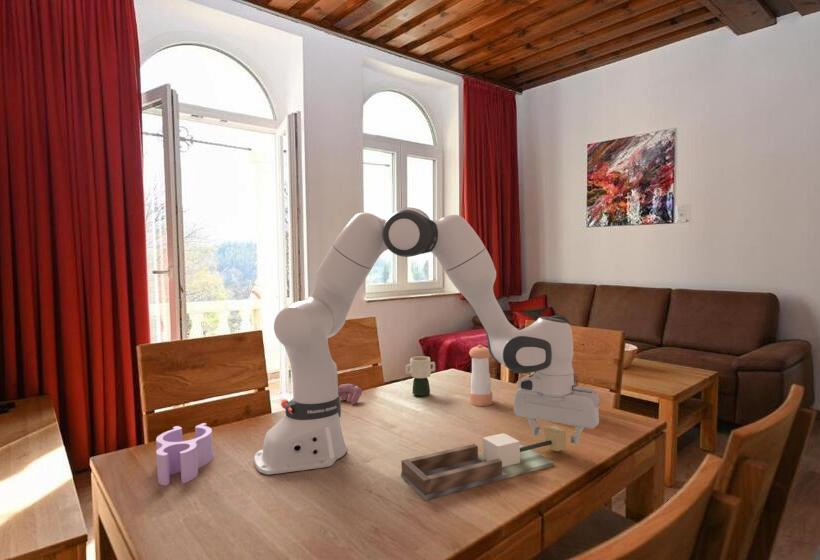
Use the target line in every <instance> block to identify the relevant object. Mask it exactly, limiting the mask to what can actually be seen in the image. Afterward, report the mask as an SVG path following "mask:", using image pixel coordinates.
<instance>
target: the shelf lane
mask: <svg viewBox="0 0 820 560" xmlns="http://www.w3.org/2000/svg"><path fill="white" fill-rule="evenodd" d="M524 446H525V445H523V444H521V443H520V447H524ZM478 447H479V446H478V445H477V444H475V443H473V444H468V445H465V446H464V445H463V446H460V447H455V448H451V449H447V450H442V451H436V452H432V453H428V454H424V455H421V456H419V455H418V456H416V457H411V458H407V459H402V460H401V461H400V462H401V472H400V478H402V479H403V480H404V481H405V482H406V483H407V484H408V485H409V486H410V488H412V489H414V491H415V492H416V493H418V495H420V497H421V498H422V499H424V500H425V501H428V500H431V499H435V498H439V497H443V496H446V495H449V494H454V493H457V492H462V491H464V490H467V489H472V488H475V487H479V486H483V485H487V484H490V483H494V482H497V481H501V480H505V479H509V478H512V477H515V476H520V475H524V474H527V473H531V472H534V471H539V470H542V469H546V468H549V467H553V466H555V462H554V461H553V460H551V459H549V458H547V457H545V456H543V455H542V454H540V453H538V452H536V451H534V450H533V449H531V450H527V451H523V452H520V463H518V464H514V465H510V466H506V467H502V461H501V460H499V459H494V460H490V461H486V460H484V459H483V452H482V453H479V448H478Z"/></svg>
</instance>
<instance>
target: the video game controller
mask: <svg viewBox="0 0 820 560" xmlns="http://www.w3.org/2000/svg"><path fill="white" fill-rule="evenodd" d="M362 391H363V390H362V388H360V387H359V386H357V385H355V384H353V383H352V384H351V383H345V384H344V383H343V384H339V385H338V395H339V396H340V400H342V401H344V400H346V401H347V400H348V401H349V402H350V404H351V405H352V406H355V405H356V404H357V403H358V401H359V399H360V397H361V395H362V393H363V392H362Z"/></svg>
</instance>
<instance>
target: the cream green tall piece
mask: <svg viewBox="0 0 820 560" xmlns="http://www.w3.org/2000/svg"><path fill="white" fill-rule="evenodd" d="M409 369H410V370H409ZM435 371H436V362H435V361H431V357H430V356H425V355H424V356H421V355H420V356H419V355H418V356H413V357H411V358H410V359H409V364H406V365H405V374H406V375H410V376H411V378H413V380H412V382H413V383H412V392H411V393H412V394H413V395H415V396H420V397H421V396H422V397H424V396H428V395H430V394H431V388H430V387H431V386H430V383H429V378H430V377H431V374H432V372H435Z"/></svg>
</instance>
